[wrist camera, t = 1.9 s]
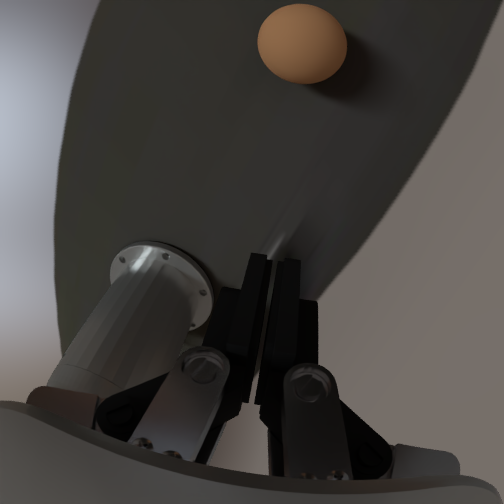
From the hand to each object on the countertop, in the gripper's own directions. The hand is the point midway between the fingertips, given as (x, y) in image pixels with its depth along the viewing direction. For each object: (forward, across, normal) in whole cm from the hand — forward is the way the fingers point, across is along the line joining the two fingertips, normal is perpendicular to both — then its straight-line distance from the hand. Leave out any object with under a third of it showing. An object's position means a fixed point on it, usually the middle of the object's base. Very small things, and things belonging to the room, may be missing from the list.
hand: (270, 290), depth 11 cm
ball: (+14, 0, -9) cm, 17 cm away
